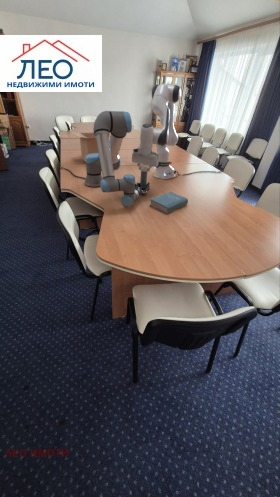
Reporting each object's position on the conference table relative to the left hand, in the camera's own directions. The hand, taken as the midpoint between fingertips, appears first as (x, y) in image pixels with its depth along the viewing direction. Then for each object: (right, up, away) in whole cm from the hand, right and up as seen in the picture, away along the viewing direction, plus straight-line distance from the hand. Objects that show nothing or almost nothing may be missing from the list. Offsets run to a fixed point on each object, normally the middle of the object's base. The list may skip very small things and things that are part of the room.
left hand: (145, 183), depth 174 cm
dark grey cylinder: (-2, -8, 0) cm, 9 cm away
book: (+16, -20, -15) cm, 30 cm away
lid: (-1, +8, -12) cm, 14 cm away
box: (-54, +43, +63) cm, 94 cm away
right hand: (-1, +6, -11) cm, 13 cm away
